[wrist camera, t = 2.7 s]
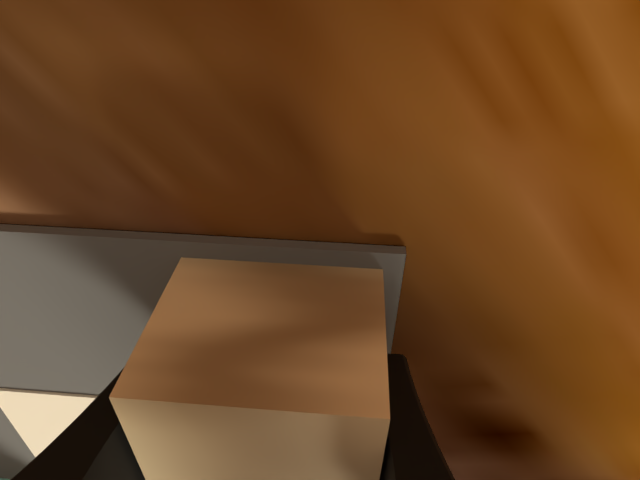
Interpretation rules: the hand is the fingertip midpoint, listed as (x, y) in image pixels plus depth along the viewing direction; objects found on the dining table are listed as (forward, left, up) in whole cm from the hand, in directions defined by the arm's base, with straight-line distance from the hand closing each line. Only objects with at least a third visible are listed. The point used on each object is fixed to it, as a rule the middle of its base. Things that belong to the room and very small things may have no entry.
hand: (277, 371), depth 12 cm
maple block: (0, 0, -1) cm, 1 cm away
